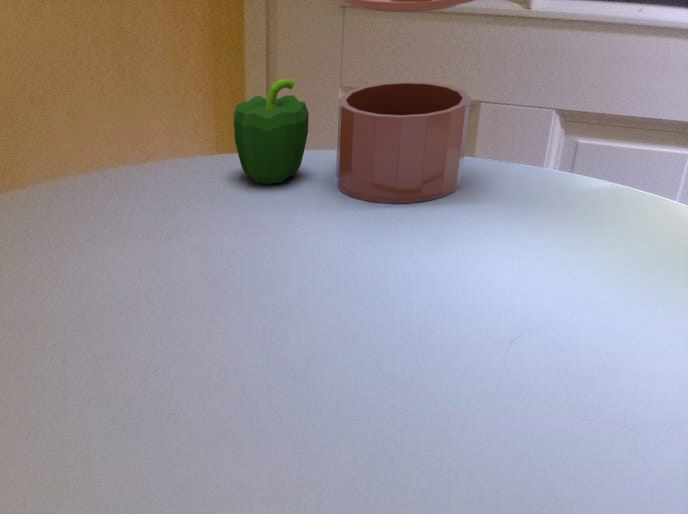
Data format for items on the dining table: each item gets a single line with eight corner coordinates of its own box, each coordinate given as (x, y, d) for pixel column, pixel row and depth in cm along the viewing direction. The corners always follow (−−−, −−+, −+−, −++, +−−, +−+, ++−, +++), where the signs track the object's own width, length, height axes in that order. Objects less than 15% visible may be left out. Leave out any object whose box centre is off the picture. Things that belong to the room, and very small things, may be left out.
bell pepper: (231, 190, 110) (227, 92, 104) (238, 166, 116) (236, 72, 110) (305, 189, 109) (307, 90, 103) (309, 165, 115) (310, 70, 109)
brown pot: (446, 159, 114) (455, 78, 109) (471, 199, 104) (482, 112, 99) (330, 166, 115) (333, 85, 109) (344, 207, 105) (347, 120, 99)
